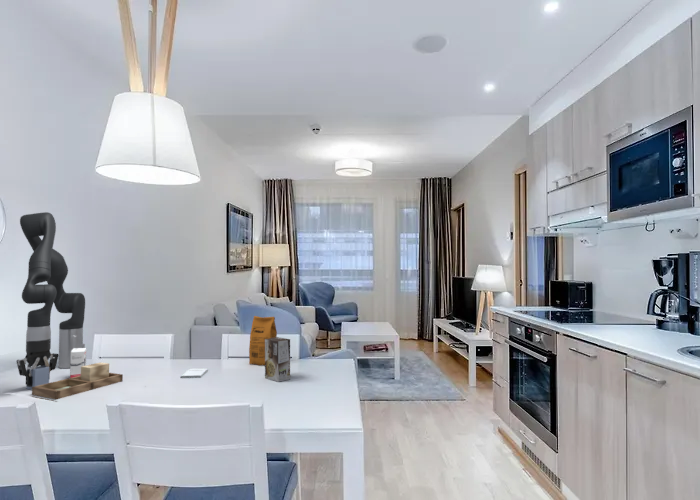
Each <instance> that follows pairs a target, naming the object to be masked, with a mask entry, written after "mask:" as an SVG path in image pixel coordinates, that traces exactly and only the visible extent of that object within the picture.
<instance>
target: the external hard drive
mask: <svg viewBox="0 0 700 500" xmlns="http://www.w3.org/2000/svg"><path fill="white" fill-rule="evenodd" d="M208 371H209V369H208V368H189V369H187V370H185V372H184V373H183V374H182V375H181V374H180V376H179V377H180V379H201V378H202V377H203V376H205V374H206V373H208Z"/></svg>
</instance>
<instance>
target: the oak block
mask: <svg viewBox="0 0 700 500" xmlns="http://www.w3.org/2000/svg"><path fill="white" fill-rule="evenodd" d="M109 373H110V363H108V362H102V361H101V362H95V363H91V364H86V366H82V367H81V380H84V381H90V382H92V381H96V380H100V379H104V378H108V377H109Z"/></svg>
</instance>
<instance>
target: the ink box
mask: <svg viewBox="0 0 700 500" xmlns="http://www.w3.org/2000/svg"><path fill="white" fill-rule="evenodd" d="M86 365H87V347H85V348H73V349H72V351H71V356H70V368H69V369H70V370H69V371H70V373H69V374H70V375H69V378H72V377H77V376H81V367H82V366H86Z"/></svg>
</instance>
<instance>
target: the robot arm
mask: <svg viewBox="0 0 700 500" xmlns="http://www.w3.org/2000/svg"><path fill="white" fill-rule="evenodd" d="M55 220H56V219H55V217H54V215H53V214H52V213H51V212H46V211H45V212H36V213H28V214H23V215H22V216H20V218H19V224H20V228H21V230H22V232H23V235H24V237H25V238H26V240H27V242H28V243H29V246H30V248H31V249H32V251H33V252H32V254H31V255H30V256H29V257H30V258H29V259H28V268H27V269H28V273H27V274H28V275H27V280H26V283H25V285H24V287H23V290H22V292H21V299H22V301H23V302H24V303H25V304H28V305H30V304H31V305H34V304H44V305H43V306H42V307H41V308H37V309H33V310H30V311H29V312H28V313H27V327H26V335H25V336H26V337H25V352H26V354H25V357H23V358H21V359H17V360H16V365H17V369H18V374H19V375H20V376H23V377H25V386H26V385H27V386H28V387H32V384H33V376H32V374H33V370H35V369H36V367H38V366H41V367H49V380H50V379H51V378H50V377H51V376H50V375H51V372H52V371H54V370H56V368H59V369H70V356H71V351H72V349H73V348H86V344H85V343H83V342H84V341H83V340H84V335H83V334H84V322H85V312H86V311H85V309H86V297H85V295H84V294H83V293H82V292H66V291H65V289H64V283H65V281H66V279H67V276H68V273H69V267H68V265H67V262H66V260H65V257H64V256H63V255H62V254H61V253H60V252H59V251H57V250H55V249H54V242H55V237H56V232H57V224H56V223H57V222H56V221H55ZM41 237H42V238H41ZM41 283H43V284H41ZM44 283H45V284H44ZM53 305H54V307H55V309H56V310H57V312H58V313H61V314H71V317H70V318H68V319H66V320H63V321H61V322H60V323H59V324H58V329H59V330H58V334H59V335H58V353H51V349H52V348H51V347H52V330H51V315H52V308H53ZM57 362H58V367H57ZM26 364H27V365H26Z"/></svg>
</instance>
